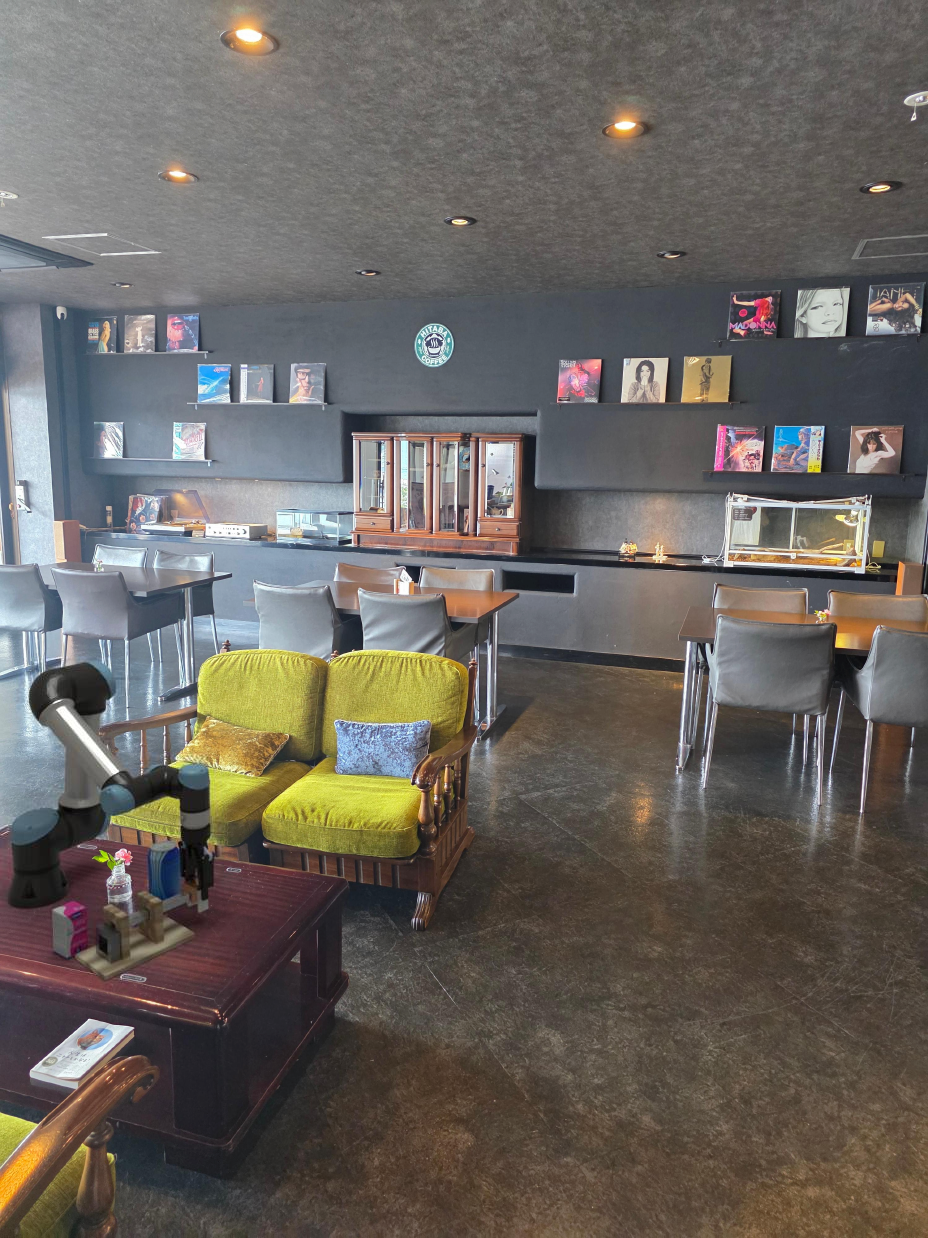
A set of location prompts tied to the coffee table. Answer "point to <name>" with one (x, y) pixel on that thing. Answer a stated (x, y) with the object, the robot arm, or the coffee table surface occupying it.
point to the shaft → (168, 902)
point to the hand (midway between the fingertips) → (197, 907)
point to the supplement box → (69, 929)
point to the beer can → (164, 870)
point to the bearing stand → (137, 938)
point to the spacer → (108, 943)
